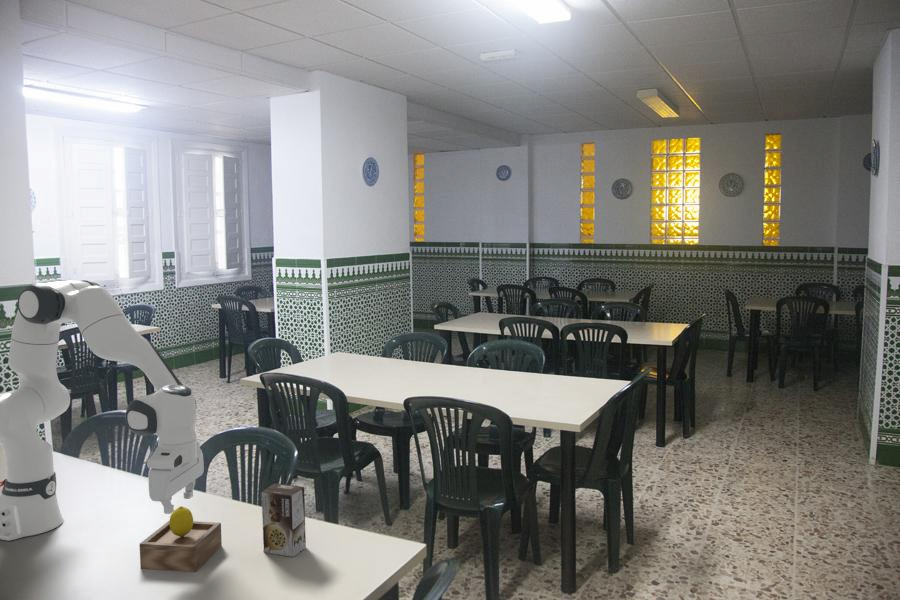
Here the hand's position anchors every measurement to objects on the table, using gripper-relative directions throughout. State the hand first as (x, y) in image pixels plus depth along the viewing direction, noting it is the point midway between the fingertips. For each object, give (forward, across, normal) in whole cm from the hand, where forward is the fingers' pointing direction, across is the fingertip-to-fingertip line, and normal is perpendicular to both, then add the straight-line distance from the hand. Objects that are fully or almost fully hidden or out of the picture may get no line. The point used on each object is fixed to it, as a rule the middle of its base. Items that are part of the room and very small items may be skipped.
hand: (178, 505), depth 172 cm
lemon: (+8, 0, +1) cm, 9 cm away
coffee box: (+13, -7, +25) cm, 29 cm away
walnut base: (+13, 0, +1) cm, 13 cm away
